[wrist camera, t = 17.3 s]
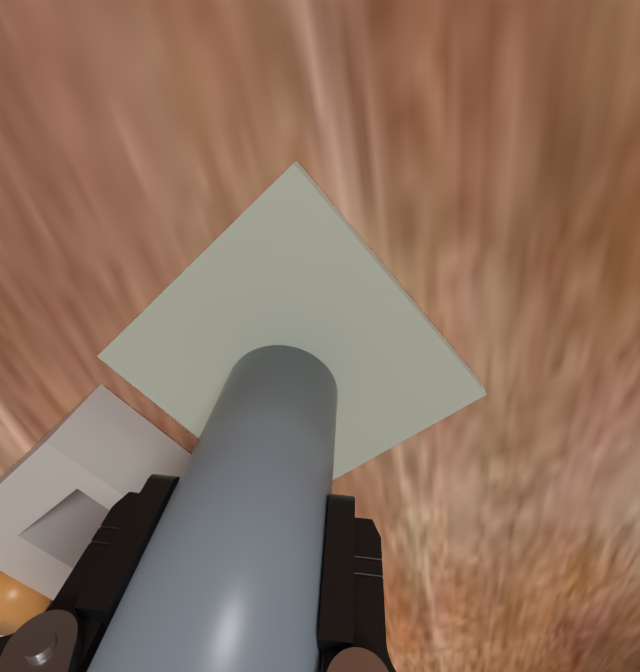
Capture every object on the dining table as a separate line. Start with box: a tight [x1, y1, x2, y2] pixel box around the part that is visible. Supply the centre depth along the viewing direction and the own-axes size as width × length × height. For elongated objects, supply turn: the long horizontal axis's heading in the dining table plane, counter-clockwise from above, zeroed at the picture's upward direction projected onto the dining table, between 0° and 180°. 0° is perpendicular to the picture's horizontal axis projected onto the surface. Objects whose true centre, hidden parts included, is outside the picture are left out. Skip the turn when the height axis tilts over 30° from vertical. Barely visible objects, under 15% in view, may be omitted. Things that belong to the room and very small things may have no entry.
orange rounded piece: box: [0, 571, 52, 636], centre depth 23 cm, size 4×4×3 cm
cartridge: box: [87, 345, 338, 672], centre depth 11 cm, size 4×4×12 cm
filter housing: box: [0, 384, 191, 611], centre depth 22 cm, size 16×10×4 cm, turn 131°
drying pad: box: [97, 161, 487, 480], centre depth 18 cm, size 12×12×1 cm
